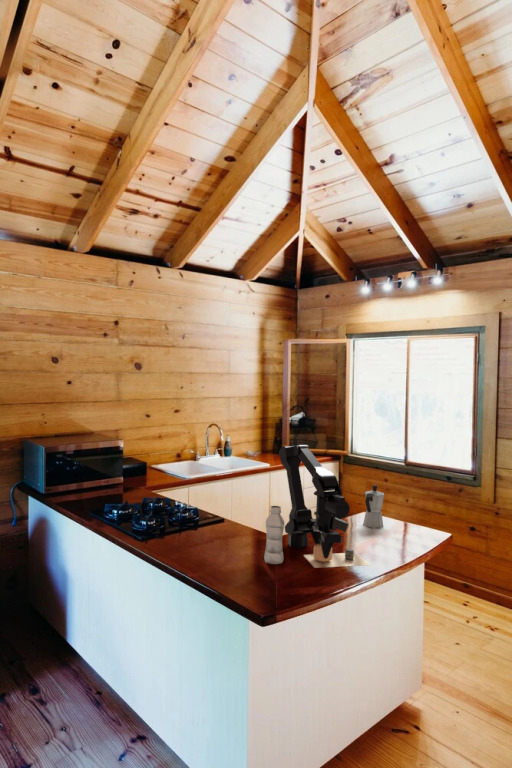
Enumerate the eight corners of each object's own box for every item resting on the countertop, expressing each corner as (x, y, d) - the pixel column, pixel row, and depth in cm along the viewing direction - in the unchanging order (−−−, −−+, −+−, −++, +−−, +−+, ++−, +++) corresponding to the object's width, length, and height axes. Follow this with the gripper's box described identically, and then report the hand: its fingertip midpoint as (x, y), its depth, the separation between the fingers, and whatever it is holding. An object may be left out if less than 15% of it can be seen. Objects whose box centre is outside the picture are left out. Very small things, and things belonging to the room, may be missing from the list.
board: (314, 572, 167) (315, 558, 167) (303, 559, 179) (303, 545, 179) (369, 569, 172) (370, 555, 172) (355, 556, 183) (355, 543, 183)
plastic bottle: (277, 570, 168) (279, 510, 167) (260, 565, 171) (262, 507, 171) (286, 564, 173) (288, 506, 173) (269, 559, 177) (272, 503, 176)
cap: (317, 561, 170) (317, 550, 170) (311, 555, 176) (311, 543, 176) (334, 560, 172) (334, 549, 172) (327, 554, 178) (328, 543, 178)
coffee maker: (369, 520, 231) (371, 481, 231) (387, 524, 226) (389, 484, 226) (355, 527, 219) (357, 486, 219) (375, 532, 214) (376, 490, 214)
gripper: (357, 517, 166) (355, 564, 167) (336, 503, 185) (334, 545, 185) (325, 518, 164) (323, 565, 164) (307, 503, 182) (305, 546, 182)
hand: (322, 555), depth 174 cm, fingers closed on cap, 6 cm apart
